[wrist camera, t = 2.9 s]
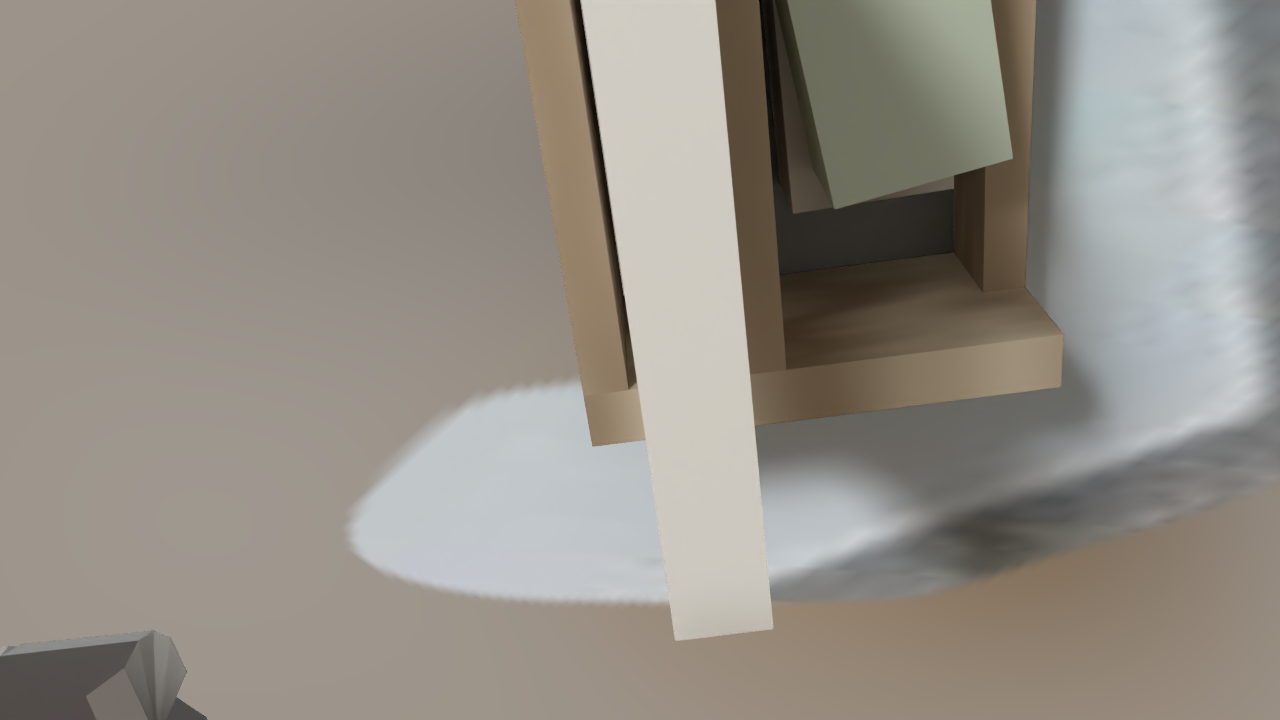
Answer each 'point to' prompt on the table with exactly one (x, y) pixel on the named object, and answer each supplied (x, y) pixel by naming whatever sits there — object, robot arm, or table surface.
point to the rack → (814, 300)
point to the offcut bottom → (803, 131)
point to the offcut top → (895, 91)
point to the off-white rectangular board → (684, 301)
